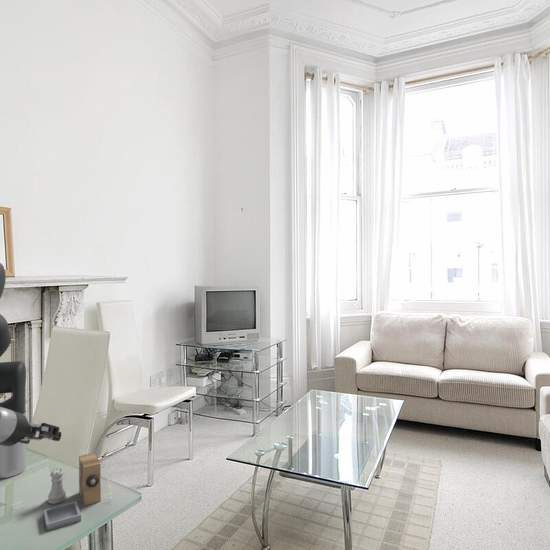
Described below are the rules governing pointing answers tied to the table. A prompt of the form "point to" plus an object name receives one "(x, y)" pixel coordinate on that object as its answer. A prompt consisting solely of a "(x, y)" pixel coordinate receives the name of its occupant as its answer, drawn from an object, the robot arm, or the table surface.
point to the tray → (62, 515)
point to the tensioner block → (89, 479)
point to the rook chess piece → (57, 487)
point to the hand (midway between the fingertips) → (44, 438)
